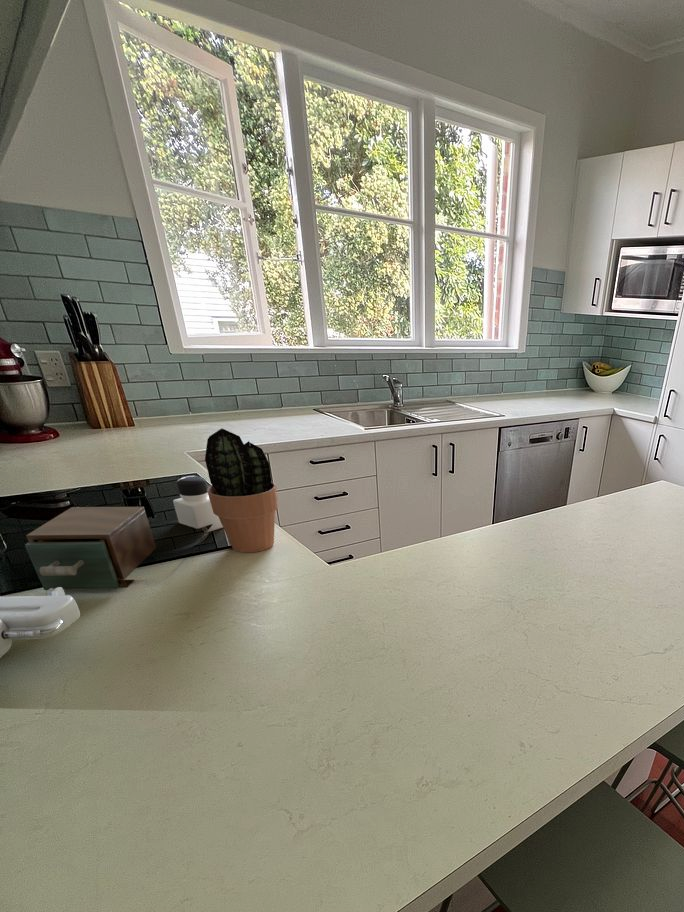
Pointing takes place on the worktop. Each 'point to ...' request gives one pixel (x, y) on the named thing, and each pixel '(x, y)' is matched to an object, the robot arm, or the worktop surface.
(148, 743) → the worktop surface
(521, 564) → the worktop surface
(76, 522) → the cabinet
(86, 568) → the drawer
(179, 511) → the medicine bottle
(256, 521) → the potted plant
